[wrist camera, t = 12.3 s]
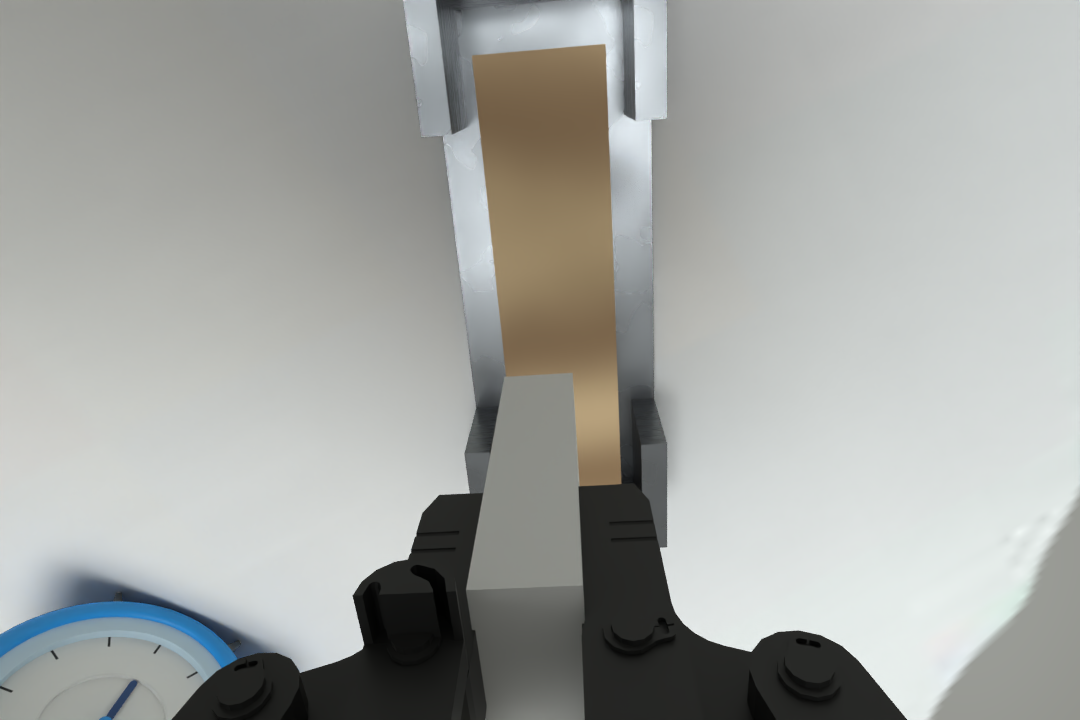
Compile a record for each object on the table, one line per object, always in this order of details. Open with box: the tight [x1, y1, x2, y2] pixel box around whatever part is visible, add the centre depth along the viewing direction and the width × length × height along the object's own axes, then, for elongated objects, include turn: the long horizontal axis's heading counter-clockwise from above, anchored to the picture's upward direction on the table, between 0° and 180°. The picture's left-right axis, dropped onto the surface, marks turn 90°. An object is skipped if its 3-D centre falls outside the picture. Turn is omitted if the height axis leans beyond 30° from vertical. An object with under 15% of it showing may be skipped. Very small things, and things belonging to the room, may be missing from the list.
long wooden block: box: [472, 44, 621, 486], centre depth 25 cm, size 18×4×5 cm, turn 4°
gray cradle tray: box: [403, 0, 667, 548], centre depth 26 cm, size 22×8×5 cm, turn 4°
